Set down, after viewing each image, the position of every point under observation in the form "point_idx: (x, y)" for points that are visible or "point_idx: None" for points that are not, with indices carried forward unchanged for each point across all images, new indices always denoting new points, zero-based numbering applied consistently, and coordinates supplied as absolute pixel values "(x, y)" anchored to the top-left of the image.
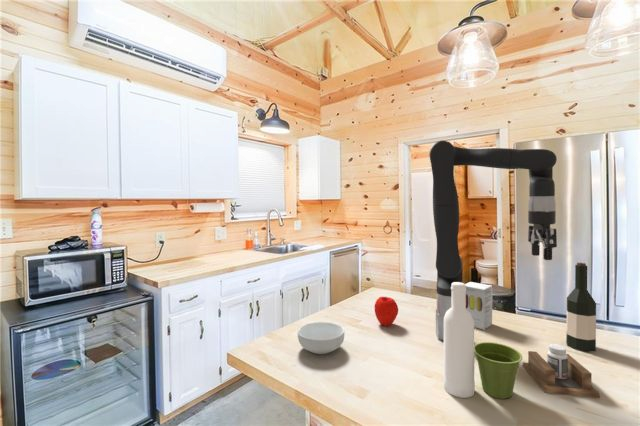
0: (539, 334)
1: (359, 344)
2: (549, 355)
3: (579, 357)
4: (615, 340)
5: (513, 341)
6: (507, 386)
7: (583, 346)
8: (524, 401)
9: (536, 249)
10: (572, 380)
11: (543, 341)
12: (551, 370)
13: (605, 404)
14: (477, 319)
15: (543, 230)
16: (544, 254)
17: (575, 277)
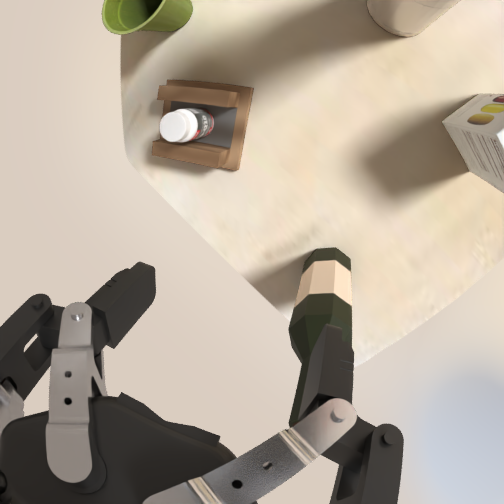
0: (396, 236)
1: None
2: (180, 109)
3: (285, 227)
4: None
5: (372, 145)
6: (139, 17)
7: (308, 261)
8: (151, 42)
9: (310, 376)
10: None
11: (363, 215)
12: (158, 94)
13: (149, 149)
14: (462, 114)
15: (7, 430)
16: (120, 279)
17: None
